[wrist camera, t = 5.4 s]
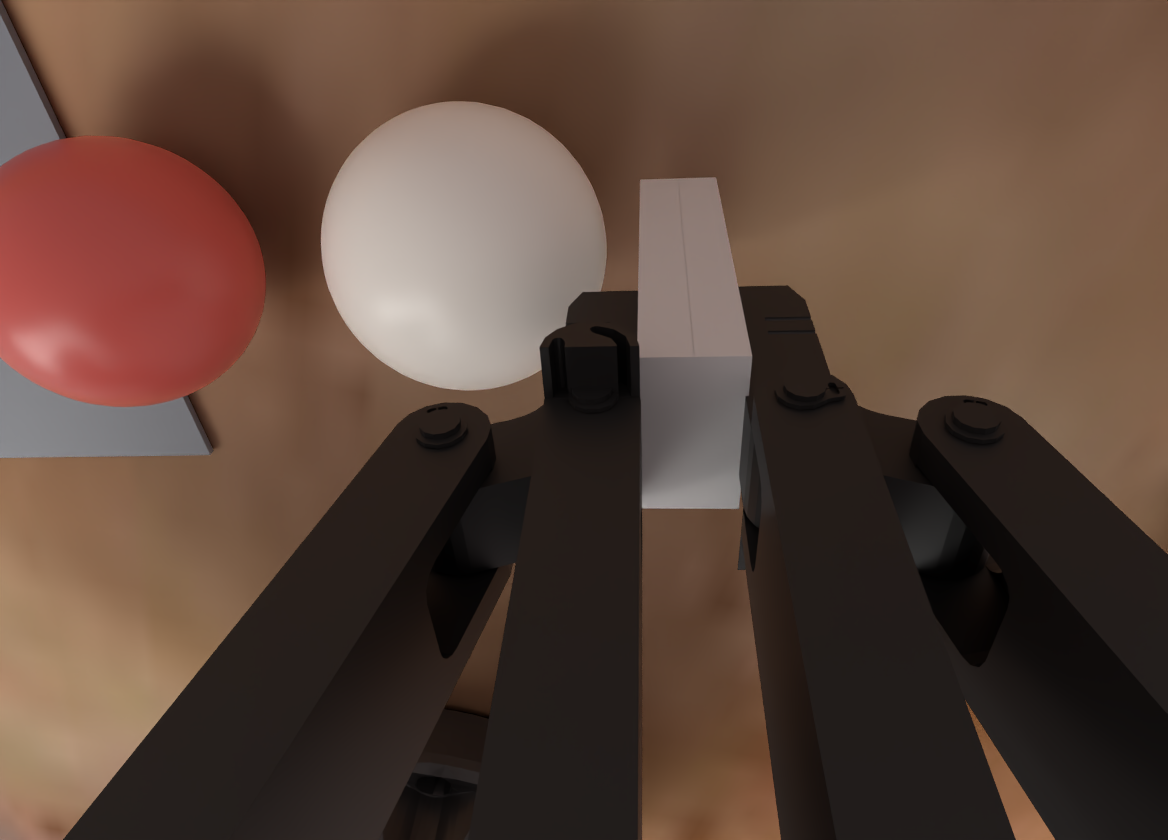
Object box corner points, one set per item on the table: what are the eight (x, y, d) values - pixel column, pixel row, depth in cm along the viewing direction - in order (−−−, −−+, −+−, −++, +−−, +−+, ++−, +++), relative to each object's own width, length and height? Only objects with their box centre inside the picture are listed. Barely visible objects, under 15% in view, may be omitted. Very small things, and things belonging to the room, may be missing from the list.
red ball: (350, 255, 19) (257, 386, 14) (204, 356, 21) (86, 498, 16) (162, 47, 16) (-21, 131, 12) (18, 188, 18) (-182, 303, 14)
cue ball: (465, 431, 12) (231, 344, 14) (612, 420, 17) (420, 357, 19) (548, 69, 11) (285, 39, 14) (678, 168, 16) (469, 133, 18)
